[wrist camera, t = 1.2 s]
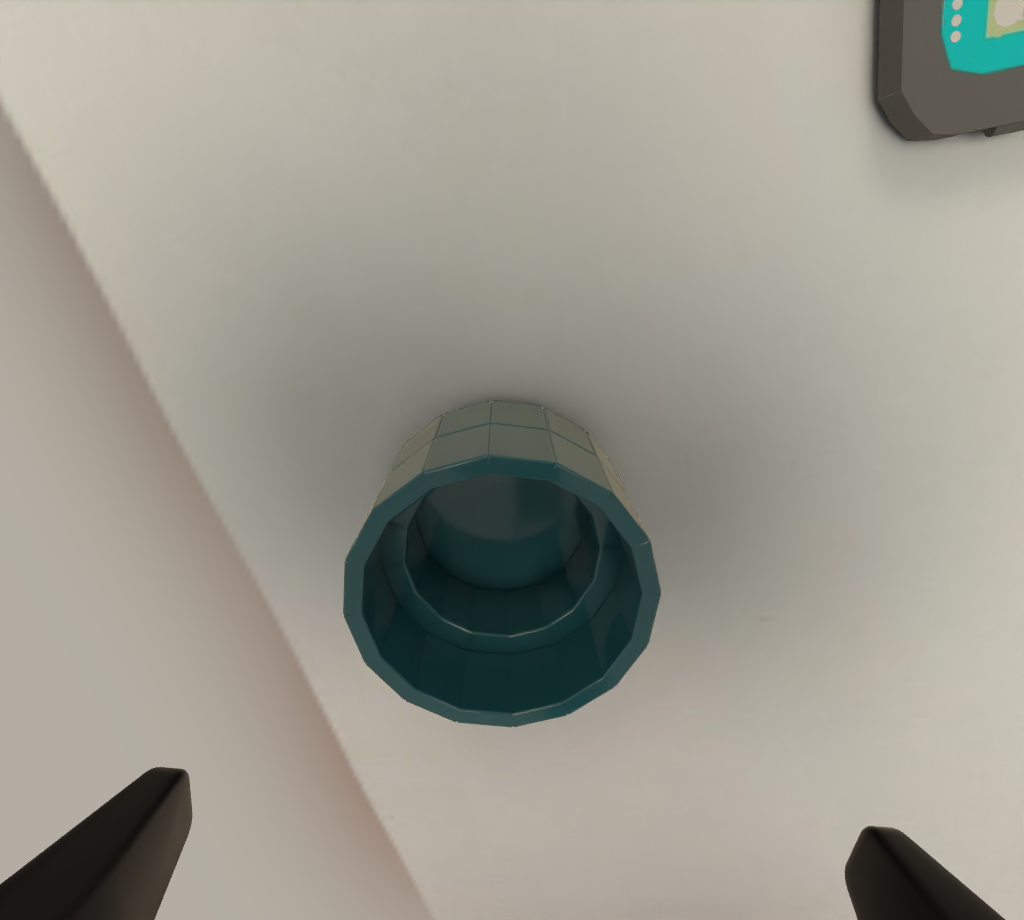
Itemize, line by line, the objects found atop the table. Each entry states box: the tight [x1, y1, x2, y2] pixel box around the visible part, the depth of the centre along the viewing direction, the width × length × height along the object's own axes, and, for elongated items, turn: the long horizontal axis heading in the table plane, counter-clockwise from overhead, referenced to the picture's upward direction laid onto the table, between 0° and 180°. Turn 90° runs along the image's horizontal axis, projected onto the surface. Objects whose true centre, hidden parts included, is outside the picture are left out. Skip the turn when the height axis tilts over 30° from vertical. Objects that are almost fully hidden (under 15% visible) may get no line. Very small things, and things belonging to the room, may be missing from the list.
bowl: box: [343, 401, 661, 727], centre depth 14 cm, size 6×6×4 cm
